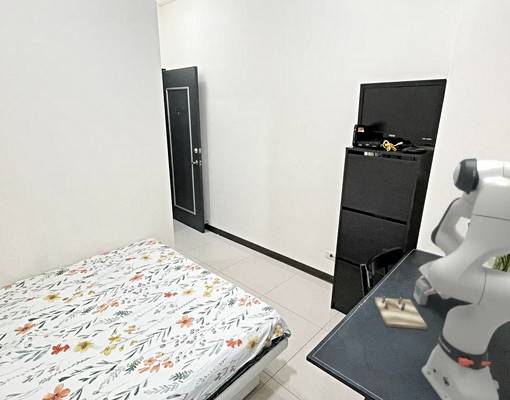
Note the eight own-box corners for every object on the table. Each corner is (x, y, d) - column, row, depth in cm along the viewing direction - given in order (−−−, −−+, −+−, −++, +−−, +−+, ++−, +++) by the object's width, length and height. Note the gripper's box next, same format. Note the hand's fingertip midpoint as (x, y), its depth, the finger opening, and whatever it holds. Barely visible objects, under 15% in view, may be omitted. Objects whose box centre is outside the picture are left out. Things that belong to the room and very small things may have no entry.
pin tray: (426, 329, 111) (429, 320, 110) (386, 326, 112) (388, 316, 111) (409, 302, 126) (411, 293, 125) (374, 300, 127) (375, 291, 126)
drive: (425, 305, 125) (430, 287, 122) (418, 304, 125) (422, 286, 122) (420, 297, 130) (424, 279, 127) (413, 296, 130) (416, 279, 128)
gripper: (432, 254, 131) (406, 271, 135) (458, 279, 112) (427, 299, 116) (440, 263, 132) (414, 280, 136) (467, 290, 113) (436, 309, 117)
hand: (420, 289), depth 126 cm, fingers closed on drive, 5 cm apart
